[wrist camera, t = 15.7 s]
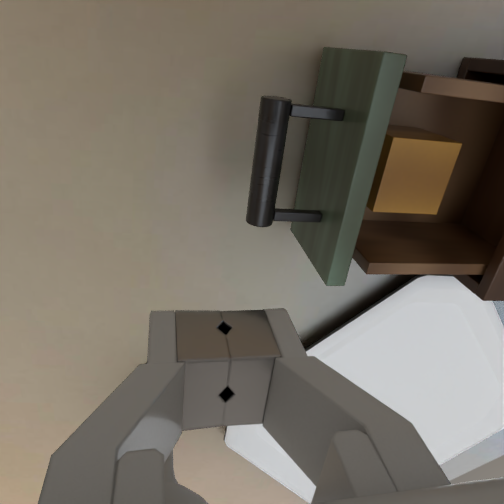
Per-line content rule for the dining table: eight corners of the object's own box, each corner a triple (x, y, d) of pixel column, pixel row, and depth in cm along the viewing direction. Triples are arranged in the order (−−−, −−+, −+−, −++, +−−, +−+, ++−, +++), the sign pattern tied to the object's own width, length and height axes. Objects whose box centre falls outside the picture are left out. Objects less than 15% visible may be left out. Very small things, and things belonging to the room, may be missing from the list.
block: (359, 121, 26) (393, 137, 22) (419, 127, 27) (462, 143, 23) (343, 187, 28) (372, 212, 24) (400, 190, 29) (436, 214, 25)
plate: (526, 394, 48) (541, 409, 46) (331, 507, 52) (338, 525, 51) (453, 234, 34) (470, 246, 32) (194, 407, 38) (195, 426, 36)
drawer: (230, 228, 29) (249, 286, 22) (250, 36, 23) (284, 37, 16) (453, 234, 33) (527, 285, 26) (517, 74, 27) (632, 87, 21)
